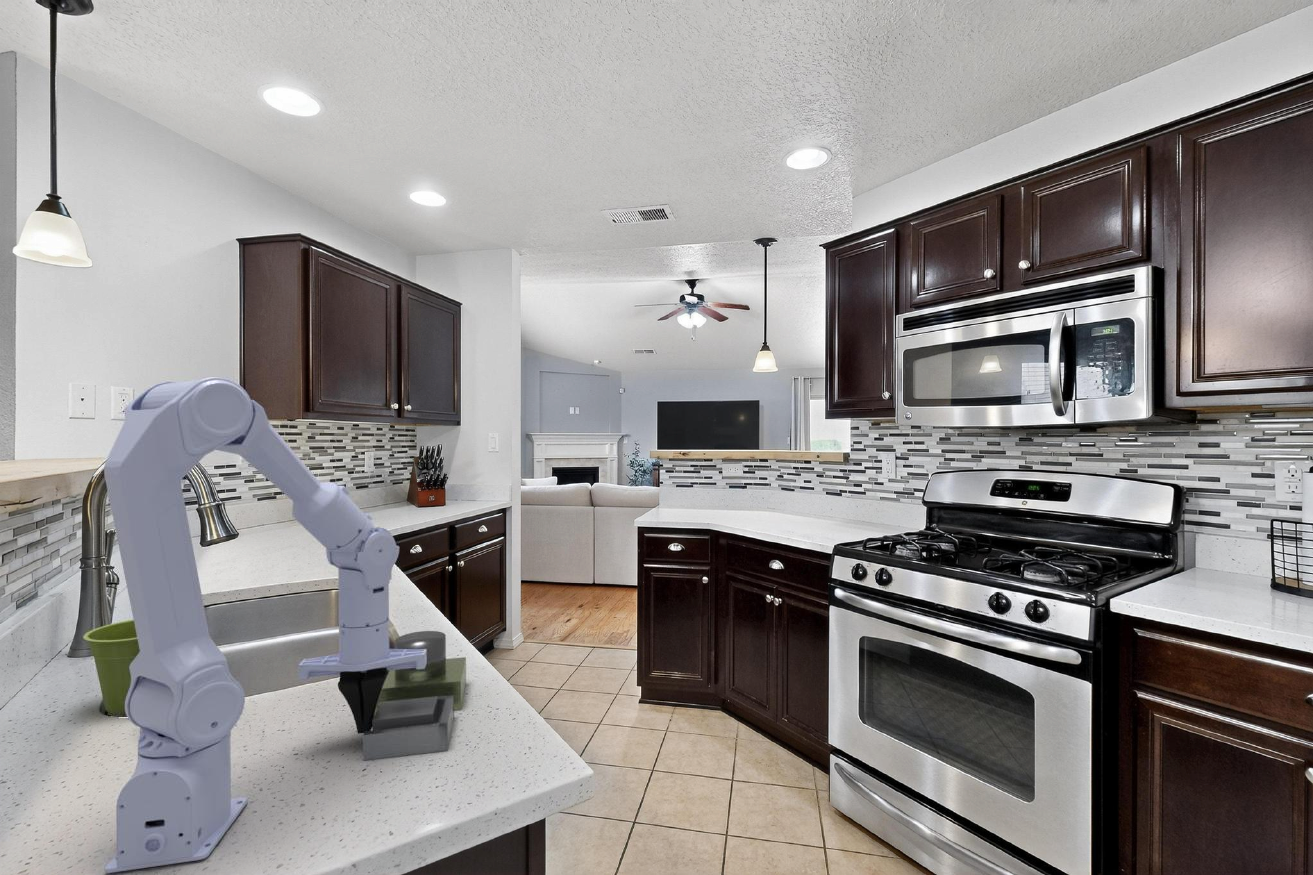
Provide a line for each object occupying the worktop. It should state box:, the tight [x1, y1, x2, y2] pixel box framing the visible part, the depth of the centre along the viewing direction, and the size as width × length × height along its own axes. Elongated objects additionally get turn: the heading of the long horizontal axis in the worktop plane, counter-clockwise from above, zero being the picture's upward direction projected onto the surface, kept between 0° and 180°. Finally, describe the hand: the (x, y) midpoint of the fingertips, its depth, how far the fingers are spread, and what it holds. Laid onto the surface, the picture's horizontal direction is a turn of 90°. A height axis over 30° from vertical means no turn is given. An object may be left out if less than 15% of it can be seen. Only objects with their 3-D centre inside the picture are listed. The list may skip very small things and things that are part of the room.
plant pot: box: [82, 619, 140, 715], centre depth 91 cm, size 12×12×11 cm
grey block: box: [371, 696, 439, 731], centre depth 79 cm, size 6×7×4 cm
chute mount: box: [362, 630, 467, 762], centre depth 85 cm, size 22×12×9 cm, turn 13°
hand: (365, 729), depth 78 cm, fingers closed
